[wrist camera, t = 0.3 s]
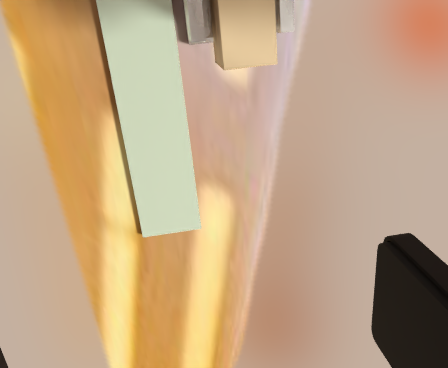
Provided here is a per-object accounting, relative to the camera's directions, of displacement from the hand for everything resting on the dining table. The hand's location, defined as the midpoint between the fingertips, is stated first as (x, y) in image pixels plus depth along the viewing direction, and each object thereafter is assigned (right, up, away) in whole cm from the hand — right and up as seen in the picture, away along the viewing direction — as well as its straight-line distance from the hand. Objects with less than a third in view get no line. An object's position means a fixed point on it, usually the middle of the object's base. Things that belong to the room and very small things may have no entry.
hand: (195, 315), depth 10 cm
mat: (-6, +9, +28) cm, 30 cm away
